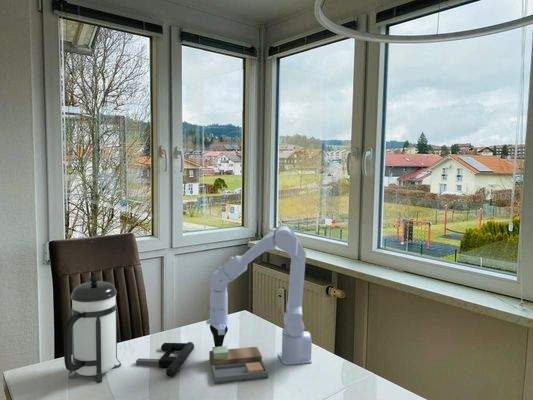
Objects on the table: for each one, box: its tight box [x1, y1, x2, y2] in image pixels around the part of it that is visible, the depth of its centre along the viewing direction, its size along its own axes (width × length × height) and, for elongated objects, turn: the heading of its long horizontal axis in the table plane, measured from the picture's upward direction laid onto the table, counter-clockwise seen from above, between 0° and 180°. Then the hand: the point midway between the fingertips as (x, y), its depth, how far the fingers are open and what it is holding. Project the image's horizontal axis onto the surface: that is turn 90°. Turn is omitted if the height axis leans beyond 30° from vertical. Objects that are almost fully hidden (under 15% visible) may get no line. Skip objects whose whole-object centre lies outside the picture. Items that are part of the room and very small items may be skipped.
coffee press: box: [63, 275, 122, 383], centre depth 122 cm, size 17×16×30 cm
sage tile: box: [211, 345, 228, 360], centre depth 131 cm, size 4×4×2 cm
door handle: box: [135, 341, 195, 378], centre depth 133 cm, size 3×20×16 cm
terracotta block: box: [246, 362, 263, 373], centre depth 125 cm, size 4×4×2 cm
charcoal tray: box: [211, 359, 269, 385], centre depth 125 cm, size 16×8×2 cm, turn 104°
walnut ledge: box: [208, 346, 263, 370], centre depth 132 cm, size 16×7×3 cm, turn 104°
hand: (218, 347), depth 135 cm, fingers closed
